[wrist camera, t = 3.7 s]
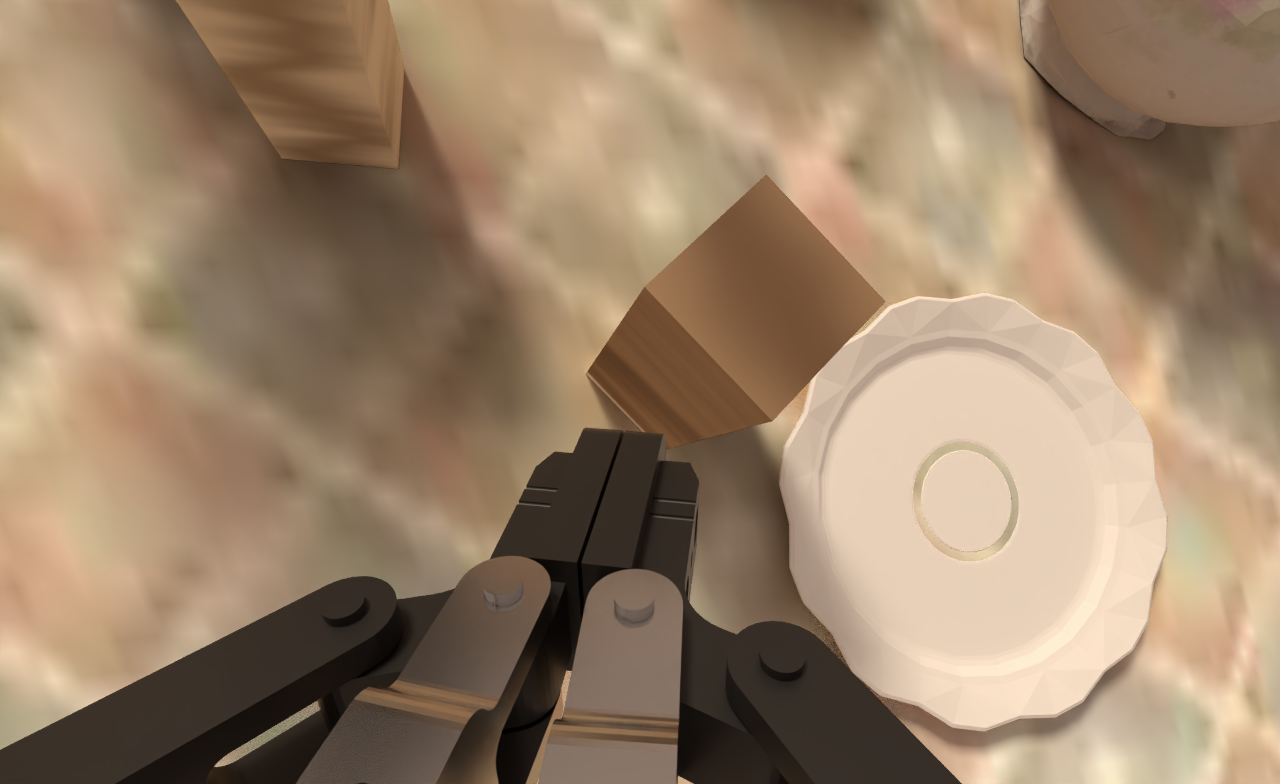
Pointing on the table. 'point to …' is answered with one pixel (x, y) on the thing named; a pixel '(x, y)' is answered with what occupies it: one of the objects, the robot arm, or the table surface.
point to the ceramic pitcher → (1159, 60)
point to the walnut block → (734, 324)
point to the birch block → (312, 73)
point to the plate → (974, 511)
